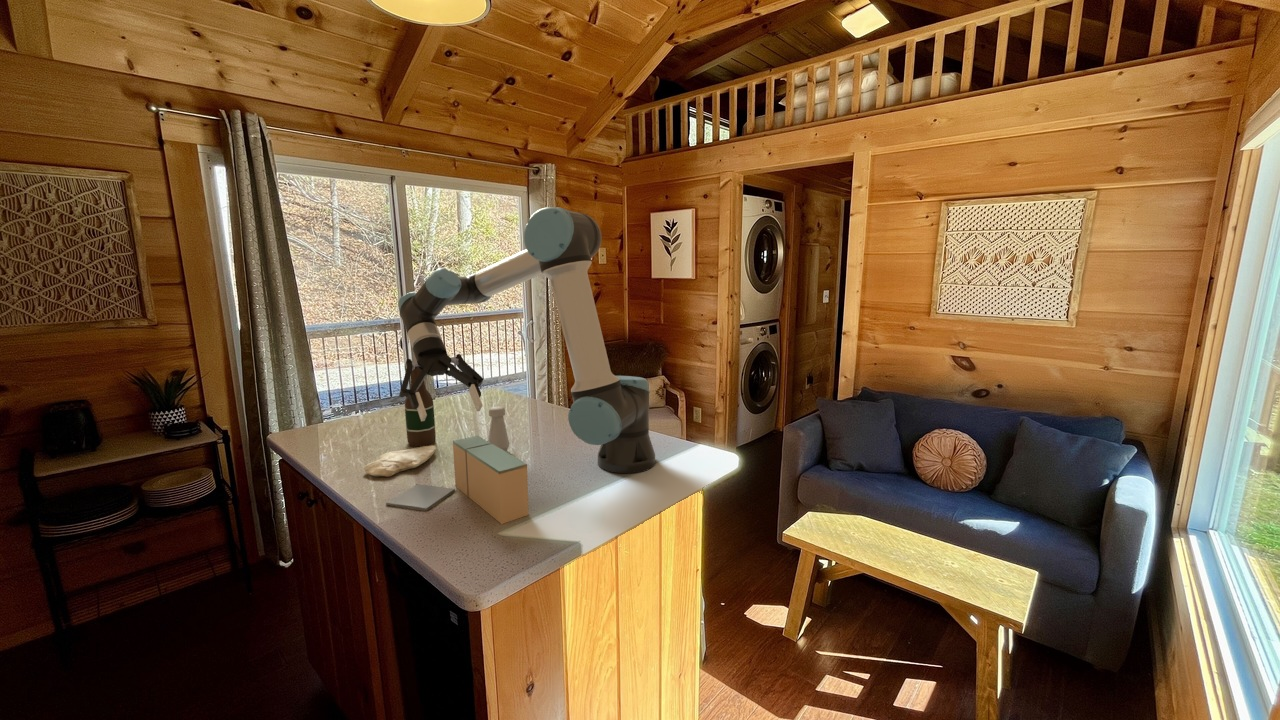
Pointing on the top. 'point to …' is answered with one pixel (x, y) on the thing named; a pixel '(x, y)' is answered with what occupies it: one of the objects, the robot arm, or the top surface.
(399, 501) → the coaster
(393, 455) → the cream lumpy flat piece
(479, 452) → the tan wooden box
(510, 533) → the top surface
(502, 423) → the salt shaker
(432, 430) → the beer bottle
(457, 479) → the stub
